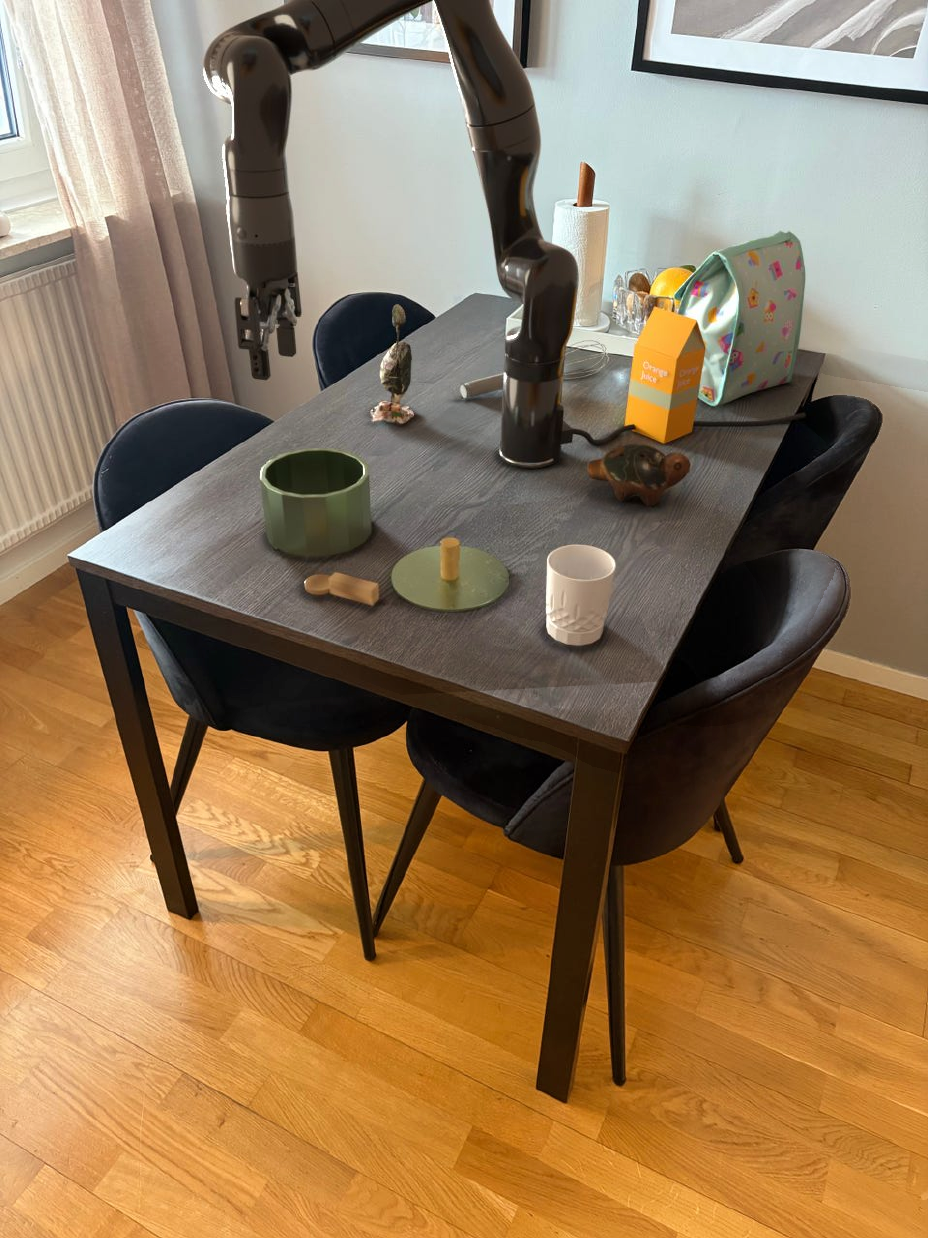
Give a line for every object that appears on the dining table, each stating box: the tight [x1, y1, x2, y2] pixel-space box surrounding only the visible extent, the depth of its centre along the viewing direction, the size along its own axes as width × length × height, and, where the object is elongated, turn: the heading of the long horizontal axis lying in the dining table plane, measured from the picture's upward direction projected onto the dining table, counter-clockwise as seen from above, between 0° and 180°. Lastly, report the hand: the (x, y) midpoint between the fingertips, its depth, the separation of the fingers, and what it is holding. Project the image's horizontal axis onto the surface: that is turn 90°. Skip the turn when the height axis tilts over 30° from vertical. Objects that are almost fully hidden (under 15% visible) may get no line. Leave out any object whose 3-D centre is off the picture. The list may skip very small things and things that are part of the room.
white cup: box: [545, 544, 617, 647], centre depth 113 cm, size 8×8×10 cm
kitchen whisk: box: [452, 339, 610, 401], centre depth 178 cm, size 6×34×6 cm, turn 119°
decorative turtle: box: [586, 443, 691, 507], centre depth 142 cm, size 10×15×8 cm, turn 74°
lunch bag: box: [673, 230, 806, 407], centre depth 173 cm, size 23×16×27 cm
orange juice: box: [624, 306, 706, 444], centre depth 158 cm, size 8×9×20 cm
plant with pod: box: [370, 304, 415, 426], centre depth 161 cm, size 8×11×20 cm
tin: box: [259, 447, 372, 558], centre depth 131 cm, size 14×14×10 cm
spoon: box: [304, 571, 380, 606], centre depth 120 cm, size 10×4×3 cm, turn 66°
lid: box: [390, 537, 510, 613], centre depth 122 cm, size 15×15×6 cm
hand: (275, 366), depth 121 cm, fingers open, 8 cm apart
